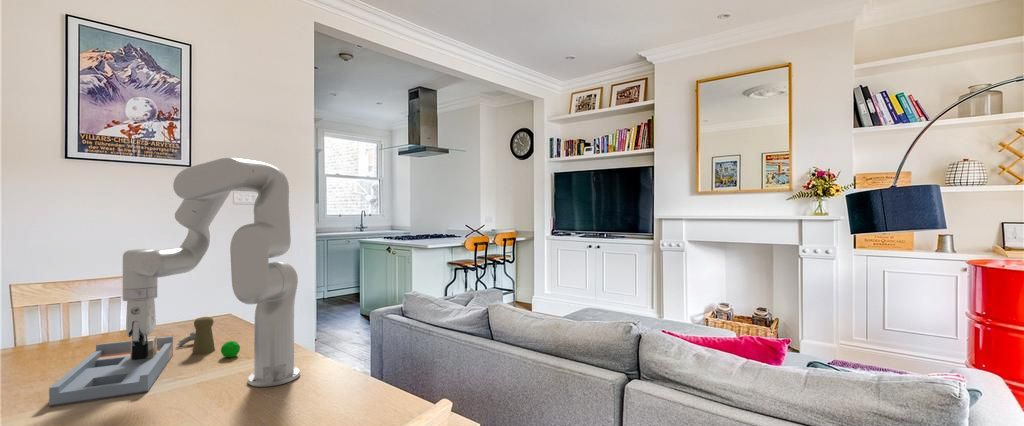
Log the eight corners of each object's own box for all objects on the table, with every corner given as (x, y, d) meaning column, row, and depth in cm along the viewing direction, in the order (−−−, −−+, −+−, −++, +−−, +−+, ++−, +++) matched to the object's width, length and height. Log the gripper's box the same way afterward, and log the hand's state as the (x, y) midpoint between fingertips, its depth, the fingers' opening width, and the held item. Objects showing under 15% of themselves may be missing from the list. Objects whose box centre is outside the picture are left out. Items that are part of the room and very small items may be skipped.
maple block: (153, 357, 128) (153, 340, 128) (130, 360, 126) (130, 342, 126) (156, 352, 133) (156, 336, 133) (135, 355, 130) (135, 338, 130)
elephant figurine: (171, 344, 151) (199, 329, 158) (183, 357, 150) (210, 341, 158) (174, 331, 145) (203, 316, 152) (186, 344, 144) (214, 328, 152)
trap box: (147, 392, 111) (147, 368, 111) (49, 407, 103) (49, 381, 103) (173, 355, 140) (173, 336, 140) (97, 364, 131) (97, 344, 131)
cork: (219, 348, 146) (219, 315, 146) (205, 354, 140) (205, 320, 140) (202, 348, 147) (202, 315, 147) (187, 354, 141) (187, 319, 141)
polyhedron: (216, 359, 136) (216, 343, 136) (229, 353, 141) (229, 339, 141) (231, 360, 136) (231, 344, 136) (243, 354, 140) (243, 339, 140)
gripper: (151, 297, 120) (150, 364, 120) (162, 288, 133) (162, 349, 133) (114, 299, 116) (114, 369, 116) (130, 290, 129) (130, 352, 130)
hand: (140, 358), depth 125 cm, fingers closed
